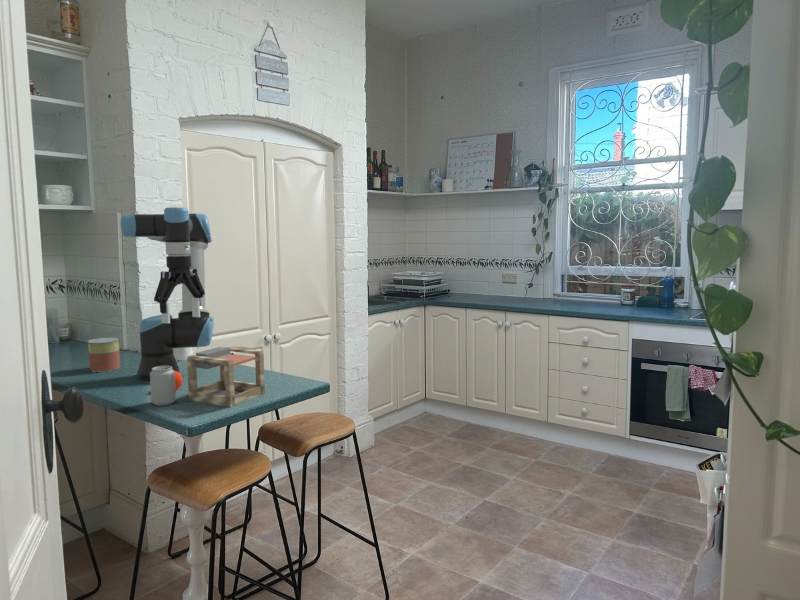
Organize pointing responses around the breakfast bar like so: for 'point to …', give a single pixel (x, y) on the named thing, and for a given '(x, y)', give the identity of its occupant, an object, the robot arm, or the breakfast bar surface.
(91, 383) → the breakfast bar surface
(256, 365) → the frame
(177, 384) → the clementine
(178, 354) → the mug
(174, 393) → the can
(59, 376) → the breakfast bar surface
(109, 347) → the canned food
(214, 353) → the grey and pink block
